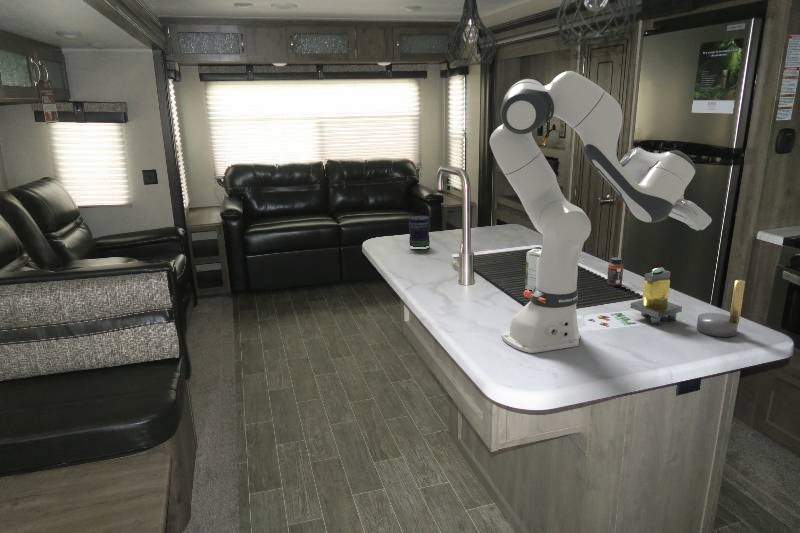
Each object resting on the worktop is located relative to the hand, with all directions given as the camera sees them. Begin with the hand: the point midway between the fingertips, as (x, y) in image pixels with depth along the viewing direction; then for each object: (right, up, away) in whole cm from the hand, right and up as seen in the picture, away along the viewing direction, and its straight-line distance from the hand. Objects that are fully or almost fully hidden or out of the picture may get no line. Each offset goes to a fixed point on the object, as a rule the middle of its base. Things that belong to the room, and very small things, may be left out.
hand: (697, 227), depth 147 cm
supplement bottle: (-2, -17, +51) cm, 54 cm away
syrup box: (-32, -19, +49) cm, 61 cm away
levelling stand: (-3, -27, +18) cm, 32 cm away
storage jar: (-71, -2, +115) cm, 135 cm away
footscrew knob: (+10, -29, +8) cm, 31 cm away
